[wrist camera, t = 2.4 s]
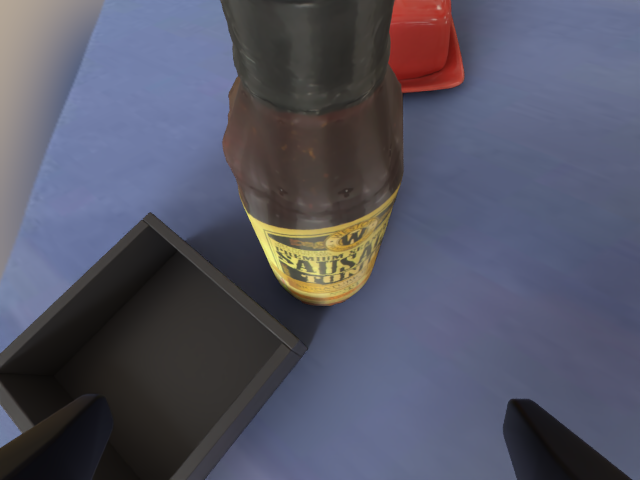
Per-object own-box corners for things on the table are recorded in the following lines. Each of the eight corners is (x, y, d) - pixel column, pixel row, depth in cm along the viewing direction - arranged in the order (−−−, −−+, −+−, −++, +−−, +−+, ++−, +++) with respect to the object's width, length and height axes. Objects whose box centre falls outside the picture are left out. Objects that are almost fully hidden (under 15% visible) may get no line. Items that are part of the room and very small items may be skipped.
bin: (168, 524, 19) (118, 563, 15) (46, 377, 22) (-24, 374, 18) (308, 349, 22) (299, 339, 17) (182, 241, 25) (149, 211, 21)
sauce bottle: (296, 326, 22) (68, 29, 4) (263, 239, 24) (19, -210, 6) (394, 284, 23) (605, -147, 4) (352, 203, 25) (377, -304, 7)
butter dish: (465, 99, 28) (512, -15, 20) (314, 111, 28) (302, 4, 20) (439, -3, 32) (469, -130, 24) (308, 9, 33) (297, -112, 25)
